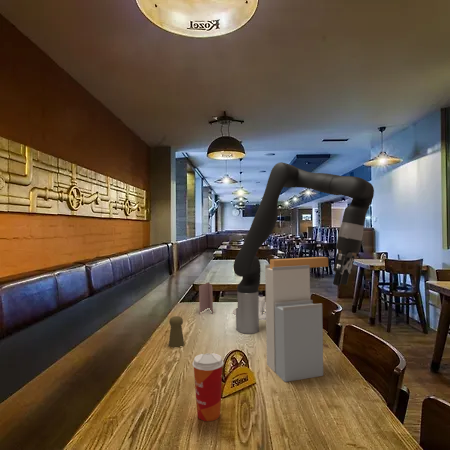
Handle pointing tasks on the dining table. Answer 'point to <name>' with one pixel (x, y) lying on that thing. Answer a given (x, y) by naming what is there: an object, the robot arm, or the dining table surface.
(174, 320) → the cork
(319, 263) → the bar
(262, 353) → the dining table surface
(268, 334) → the tall pale grey pillar
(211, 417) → the paper cup
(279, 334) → the grey box
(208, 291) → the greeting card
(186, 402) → the dining table surface
